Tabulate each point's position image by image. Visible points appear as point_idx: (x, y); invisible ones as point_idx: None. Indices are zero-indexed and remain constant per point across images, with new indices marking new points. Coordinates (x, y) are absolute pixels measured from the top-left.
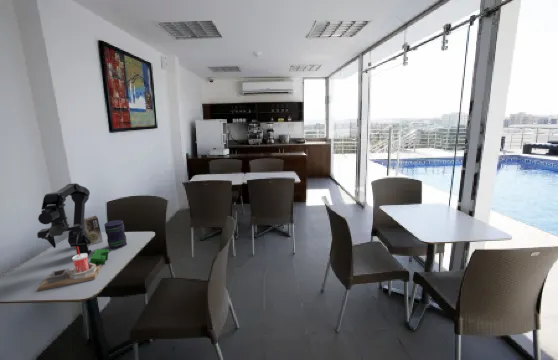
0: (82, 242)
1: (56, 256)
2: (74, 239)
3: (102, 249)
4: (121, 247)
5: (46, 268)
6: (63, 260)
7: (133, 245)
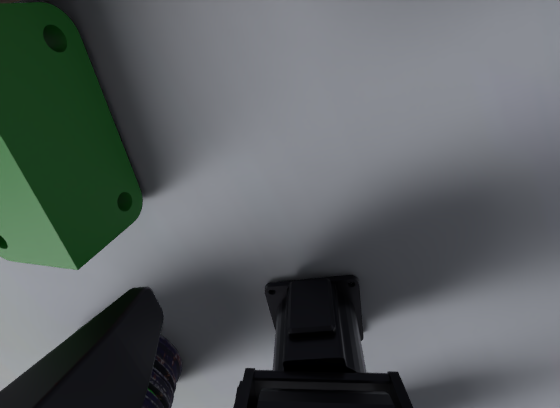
0: (259, 395)
1: (514, 332)
2: (35, 399)
3: (38, 260)
4: (78, 329)
5: (547, 154)
6: (437, 259)
7: (11, 335)
